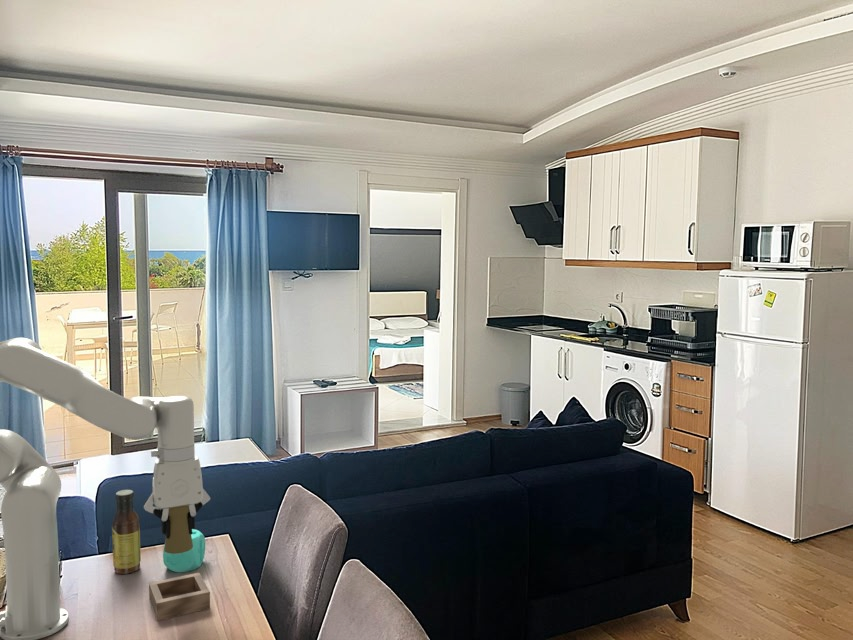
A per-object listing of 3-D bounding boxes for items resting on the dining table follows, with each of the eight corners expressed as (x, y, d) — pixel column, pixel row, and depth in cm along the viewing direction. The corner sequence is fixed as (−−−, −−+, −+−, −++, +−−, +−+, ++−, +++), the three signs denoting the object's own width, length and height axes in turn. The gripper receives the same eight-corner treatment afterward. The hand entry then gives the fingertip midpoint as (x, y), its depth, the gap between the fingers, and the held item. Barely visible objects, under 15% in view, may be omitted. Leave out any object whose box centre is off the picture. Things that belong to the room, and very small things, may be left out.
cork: (183, 554, 150) (182, 505, 149) (158, 552, 151) (157, 503, 151) (198, 543, 156) (197, 496, 155) (173, 541, 157) (172, 494, 156)
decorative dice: (195, 572, 170) (195, 541, 170) (162, 572, 170) (162, 540, 170) (205, 559, 178) (205, 528, 178) (174, 558, 178) (174, 528, 178)
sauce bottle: (121, 564, 175) (119, 486, 173) (145, 564, 175) (143, 487, 173) (108, 575, 168) (105, 495, 167) (133, 576, 168) (131, 496, 167)
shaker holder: (156, 620, 147) (156, 603, 147) (149, 599, 157) (148, 582, 156) (210, 608, 153) (209, 591, 152) (199, 588, 162) (199, 572, 162)
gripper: (137, 462, 145) (140, 548, 146) (219, 452, 153) (220, 533, 154) (133, 454, 151) (135, 535, 153) (211, 444, 159) (213, 522, 161)
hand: (178, 533), depth 153 cm, fingers closed on cork, 4 cm apart
